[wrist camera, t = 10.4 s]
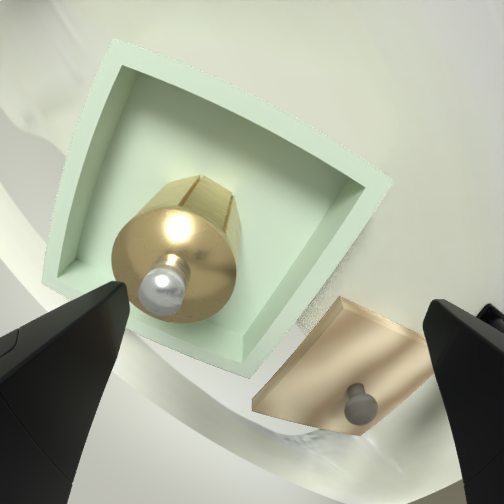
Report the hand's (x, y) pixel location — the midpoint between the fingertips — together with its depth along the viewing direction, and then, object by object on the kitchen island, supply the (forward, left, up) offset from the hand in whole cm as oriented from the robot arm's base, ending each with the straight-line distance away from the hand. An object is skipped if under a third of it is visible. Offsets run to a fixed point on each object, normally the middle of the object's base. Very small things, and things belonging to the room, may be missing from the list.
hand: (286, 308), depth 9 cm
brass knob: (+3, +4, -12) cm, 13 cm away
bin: (+3, +4, -13) cm, 13 cm away
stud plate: (-16, +12, -13) cm, 23 cm away
